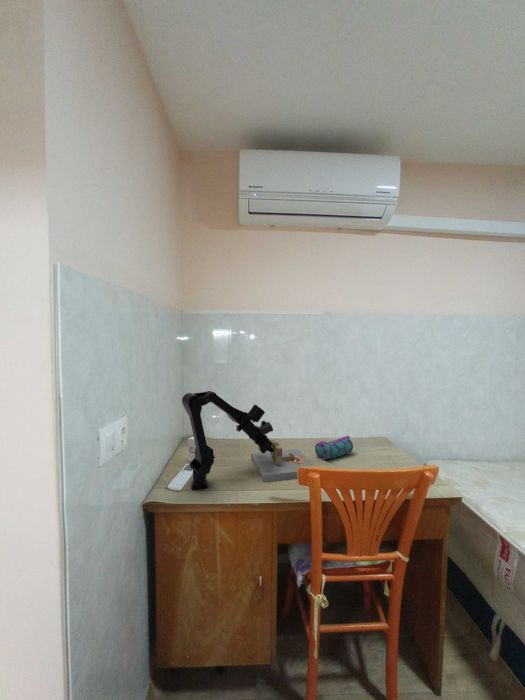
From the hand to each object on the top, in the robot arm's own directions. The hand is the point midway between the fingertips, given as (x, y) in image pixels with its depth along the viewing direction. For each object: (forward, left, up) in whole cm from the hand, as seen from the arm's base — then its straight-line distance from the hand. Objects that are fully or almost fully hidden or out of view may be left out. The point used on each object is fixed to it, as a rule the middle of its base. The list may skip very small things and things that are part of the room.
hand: (272, 451), depth 133 cm
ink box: (+17, +35, -8) cm, 40 cm away
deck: (0, -5, -8) cm, 10 cm away
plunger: (0, -5, -5) cm, 7 cm away
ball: (0, -11, -7) cm, 13 cm away
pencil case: (+6, -37, -8) cm, 38 cm away
